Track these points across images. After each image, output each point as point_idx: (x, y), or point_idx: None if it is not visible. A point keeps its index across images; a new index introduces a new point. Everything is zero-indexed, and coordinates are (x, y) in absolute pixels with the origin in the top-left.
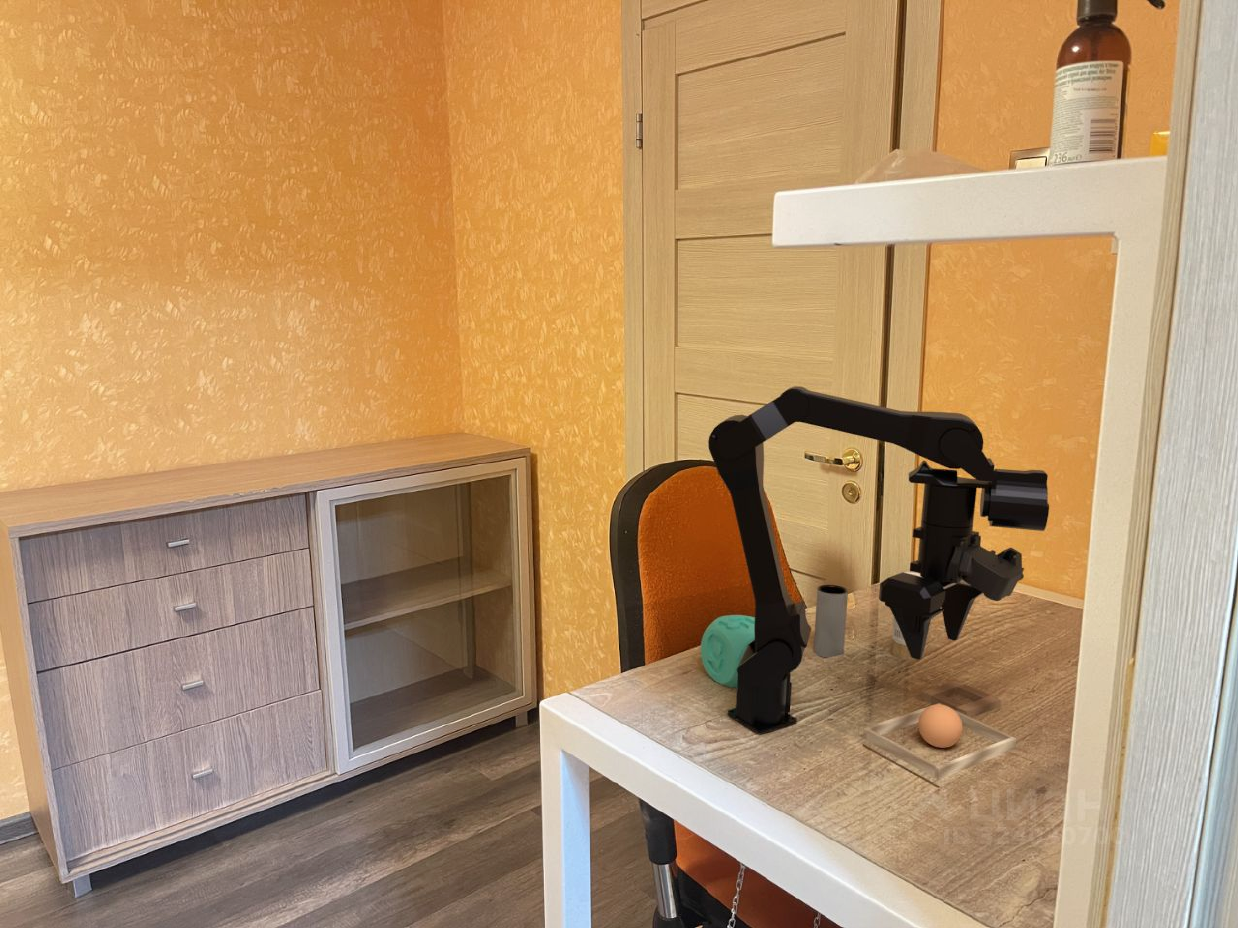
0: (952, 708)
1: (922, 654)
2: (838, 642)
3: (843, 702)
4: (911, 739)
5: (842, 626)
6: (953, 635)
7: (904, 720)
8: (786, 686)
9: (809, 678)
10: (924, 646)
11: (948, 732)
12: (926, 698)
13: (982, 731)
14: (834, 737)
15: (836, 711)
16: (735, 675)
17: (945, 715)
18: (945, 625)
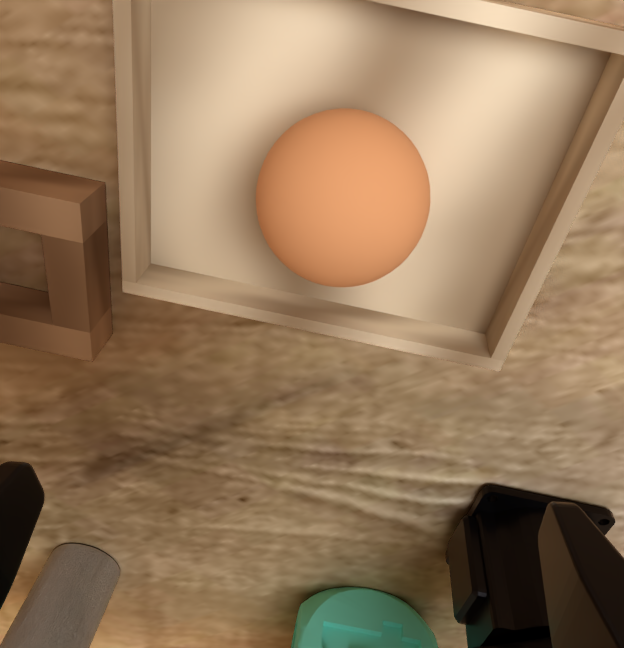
0: (89, 252)
1: (566, 527)
2: (70, 584)
3: (282, 459)
4: None
5: (39, 624)
6: (16, 499)
7: (321, 315)
8: (508, 593)
9: (236, 544)
10: (600, 590)
11: (405, 141)
12: (99, 335)
13: (144, 93)
14: (492, 400)
15: (343, 451)
16: (435, 643)
17: (379, 194)
18: (7, 590)
